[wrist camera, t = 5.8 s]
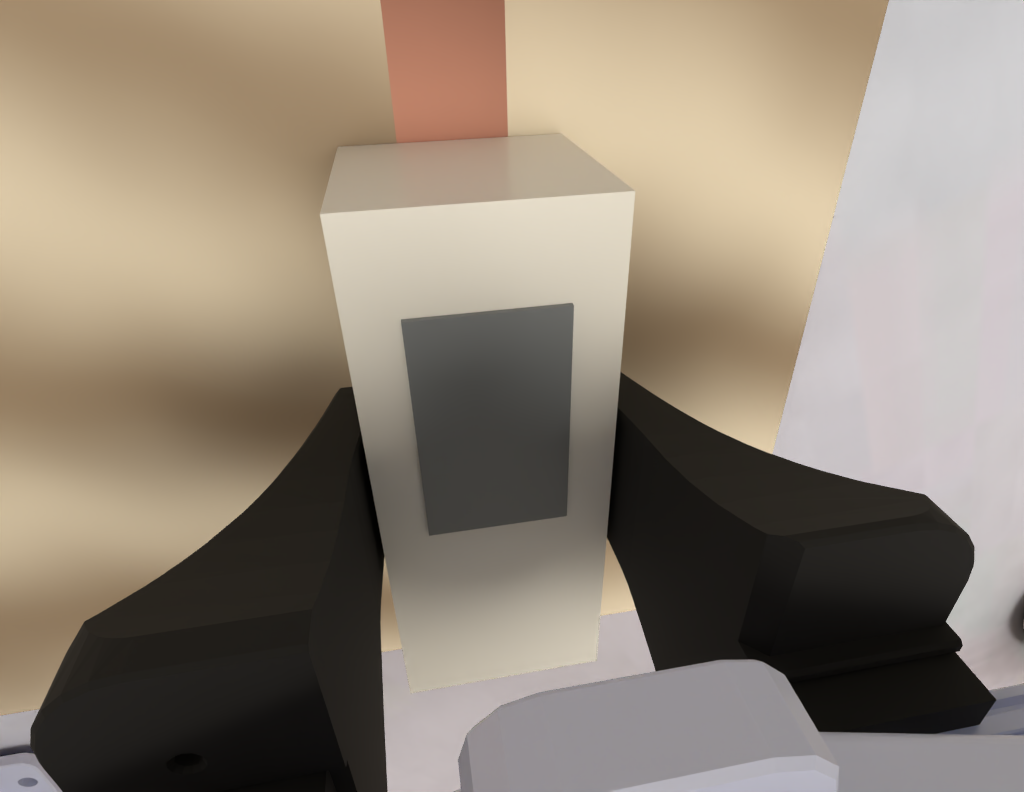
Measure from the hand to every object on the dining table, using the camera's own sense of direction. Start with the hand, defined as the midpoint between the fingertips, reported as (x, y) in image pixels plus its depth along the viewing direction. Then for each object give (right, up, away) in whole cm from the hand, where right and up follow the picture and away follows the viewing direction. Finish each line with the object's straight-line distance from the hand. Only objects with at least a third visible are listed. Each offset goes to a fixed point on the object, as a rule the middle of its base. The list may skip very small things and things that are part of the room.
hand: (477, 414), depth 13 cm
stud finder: (0, +1, +1) cm, 1 cm away
